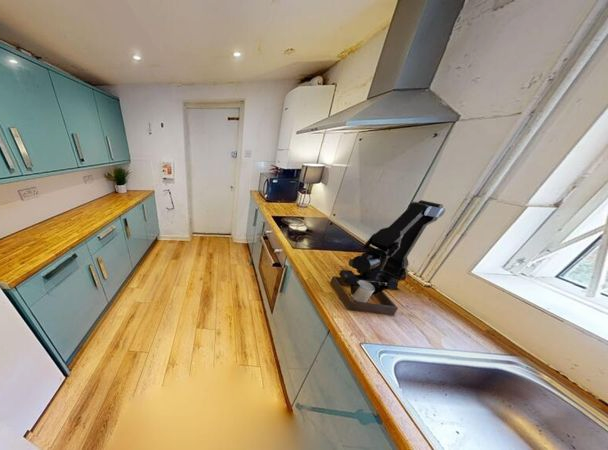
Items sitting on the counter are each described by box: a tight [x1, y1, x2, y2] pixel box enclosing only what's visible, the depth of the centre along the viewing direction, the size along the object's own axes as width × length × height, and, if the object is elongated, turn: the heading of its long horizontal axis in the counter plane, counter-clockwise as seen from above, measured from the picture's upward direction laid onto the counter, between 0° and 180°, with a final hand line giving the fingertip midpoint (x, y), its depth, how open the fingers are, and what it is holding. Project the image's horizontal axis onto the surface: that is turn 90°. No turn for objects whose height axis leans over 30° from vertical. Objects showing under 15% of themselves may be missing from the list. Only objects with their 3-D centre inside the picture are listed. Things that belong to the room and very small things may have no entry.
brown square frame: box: [329, 275, 399, 317], centre depth 82 cm, size 17×16×4 cm
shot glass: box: [350, 281, 375, 303], centre depth 81 cm, size 7×7×7 cm
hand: (360, 294), depth 82 cm, fingers closed on shot glass, 6 cm apart
